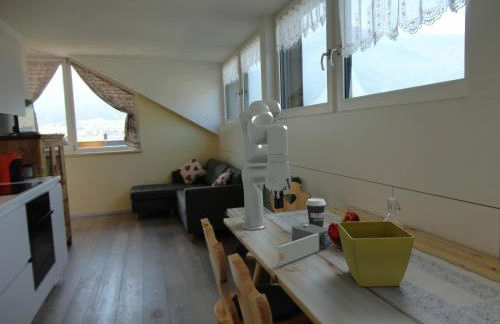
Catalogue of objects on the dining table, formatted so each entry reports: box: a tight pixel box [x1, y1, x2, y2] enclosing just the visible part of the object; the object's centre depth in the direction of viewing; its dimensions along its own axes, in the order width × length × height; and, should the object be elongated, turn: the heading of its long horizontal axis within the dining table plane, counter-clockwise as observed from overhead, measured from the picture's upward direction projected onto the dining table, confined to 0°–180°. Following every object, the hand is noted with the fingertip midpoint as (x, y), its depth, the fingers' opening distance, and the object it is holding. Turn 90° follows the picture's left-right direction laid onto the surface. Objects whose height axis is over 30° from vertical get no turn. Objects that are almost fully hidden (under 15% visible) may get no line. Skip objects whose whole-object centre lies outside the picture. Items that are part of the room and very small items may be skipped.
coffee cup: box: [305, 197, 327, 227], centre depth 165 cm, size 10×10×15 cm
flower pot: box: [337, 220, 415, 288], centre depth 110 cm, size 19×19×17 cm
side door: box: [277, 233, 320, 267], centre depth 129 cm, size 22×2×7 cm, turn 129°
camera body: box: [291, 222, 332, 251], centre depth 145 cm, size 16×9×8 cm, turn 38°
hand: (278, 208), depth 125 cm, fingers closed
